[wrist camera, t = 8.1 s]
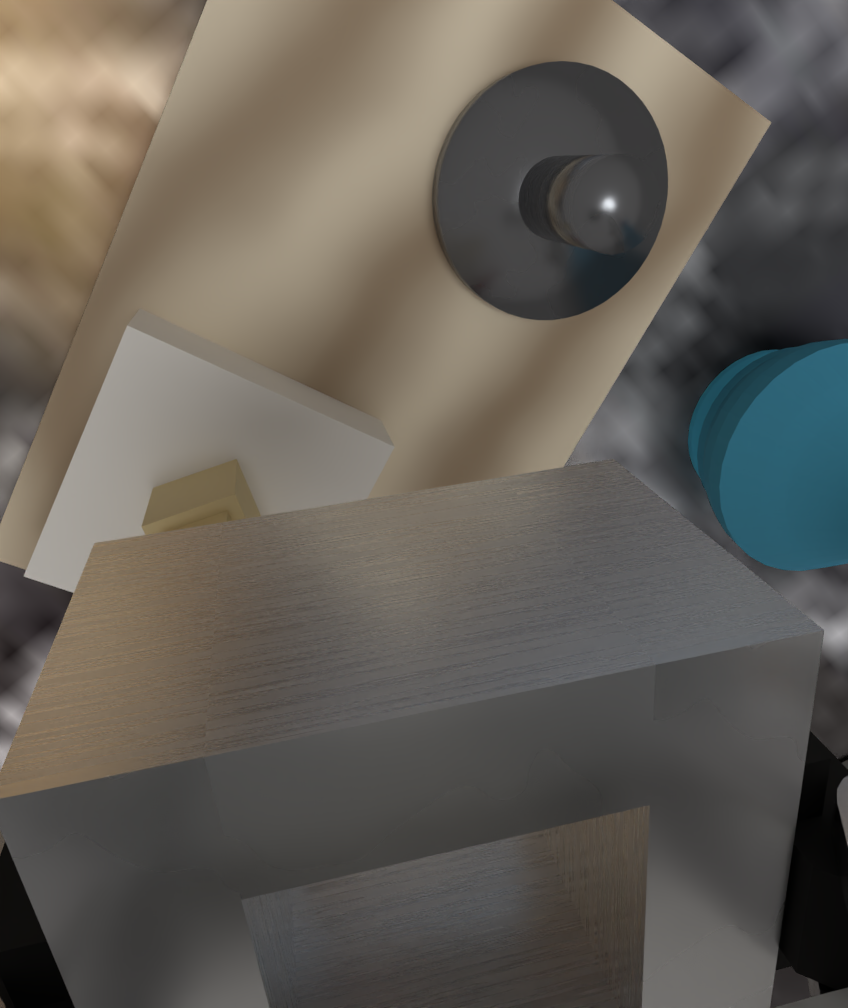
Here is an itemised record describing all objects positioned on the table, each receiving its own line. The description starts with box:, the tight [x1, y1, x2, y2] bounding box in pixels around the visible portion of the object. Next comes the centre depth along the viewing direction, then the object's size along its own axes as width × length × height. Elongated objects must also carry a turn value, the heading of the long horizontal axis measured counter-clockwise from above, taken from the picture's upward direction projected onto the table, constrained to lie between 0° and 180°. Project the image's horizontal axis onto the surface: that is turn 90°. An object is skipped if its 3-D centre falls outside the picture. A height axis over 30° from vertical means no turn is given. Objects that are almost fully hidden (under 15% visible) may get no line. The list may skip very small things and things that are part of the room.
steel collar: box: [0, 459, 824, 1008], centre depth 10 cm, size 7×7×4 cm
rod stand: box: [432, 61, 668, 320], centre depth 24 cm, size 8×8×6 cm
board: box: [0, 0, 771, 570], centre depth 28 cm, size 18×26×2 cm
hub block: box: [24, 309, 394, 593], centre depth 25 cm, size 9×9×7 cm
